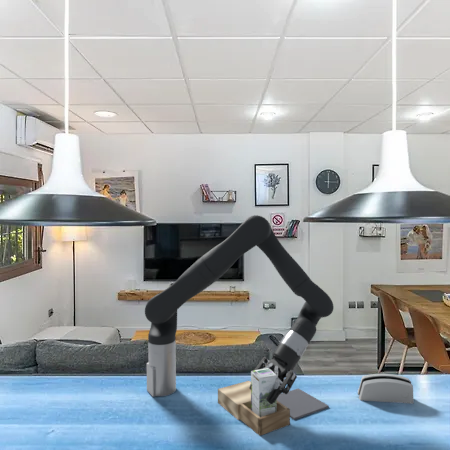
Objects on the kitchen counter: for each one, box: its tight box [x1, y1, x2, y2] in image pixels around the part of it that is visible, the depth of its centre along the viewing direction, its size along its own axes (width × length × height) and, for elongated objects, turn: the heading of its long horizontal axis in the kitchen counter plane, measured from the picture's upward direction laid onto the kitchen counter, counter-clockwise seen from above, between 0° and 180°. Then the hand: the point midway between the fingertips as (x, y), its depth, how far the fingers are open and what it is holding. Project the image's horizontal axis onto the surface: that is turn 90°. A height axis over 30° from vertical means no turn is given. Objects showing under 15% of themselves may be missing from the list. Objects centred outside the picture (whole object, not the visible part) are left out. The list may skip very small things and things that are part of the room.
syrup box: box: [250, 368, 277, 417], centre depth 110 cm, size 6×6×14 cm
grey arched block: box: [357, 373, 414, 404], centre depth 122 cm, size 17×5×10 cm, turn 81°
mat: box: [277, 388, 330, 421], centre depth 120 cm, size 14×14×1 cm
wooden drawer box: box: [217, 380, 291, 436], centre depth 115 cm, size 22×12×4 cm, turn 31°
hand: (260, 396), depth 109 cm, fingers open, 8 cm apart
